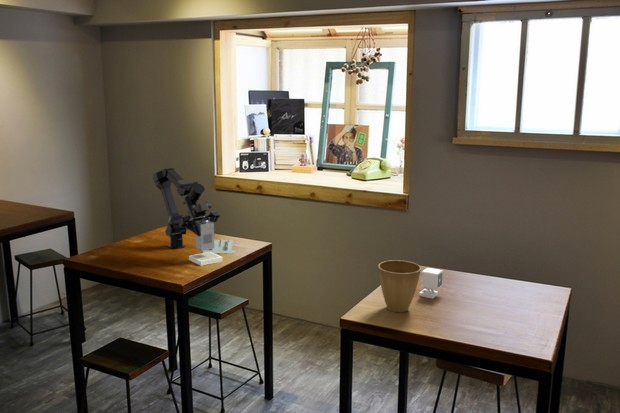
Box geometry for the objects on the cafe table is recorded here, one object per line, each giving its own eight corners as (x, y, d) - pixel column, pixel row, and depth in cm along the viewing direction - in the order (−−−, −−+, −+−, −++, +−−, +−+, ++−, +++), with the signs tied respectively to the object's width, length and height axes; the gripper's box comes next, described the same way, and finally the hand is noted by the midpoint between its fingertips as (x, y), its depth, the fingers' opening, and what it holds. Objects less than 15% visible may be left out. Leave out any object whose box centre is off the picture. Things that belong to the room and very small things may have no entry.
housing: (196, 248, 276) (195, 220, 273) (208, 246, 280) (208, 218, 277) (201, 251, 272) (201, 222, 269) (214, 248, 276) (214, 220, 273)
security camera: (436, 299, 229) (437, 274, 227) (418, 296, 233) (419, 271, 231) (442, 294, 234) (443, 269, 232) (424, 291, 238) (425, 266, 236)
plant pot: (370, 311, 217) (371, 268, 214) (387, 298, 230) (389, 257, 226) (409, 320, 210) (411, 275, 206) (425, 306, 222) (427, 264, 219)
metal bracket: (206, 235, 299) (237, 235, 299) (207, 245, 302) (238, 246, 302) (202, 251, 286) (234, 251, 286) (203, 262, 289) (234, 262, 289)
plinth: (189, 260, 278) (189, 255, 278) (210, 255, 285) (210, 251, 284) (201, 265, 270) (200, 261, 269) (222, 261, 276) (222, 256, 276)
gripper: (180, 198, 268) (193, 228, 262) (217, 193, 280) (230, 221, 274) (173, 212, 276) (185, 241, 270) (209, 207, 287) (222, 235, 281)
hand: (206, 234), depth 274 cm, fingers closed on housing, 6 cm apart
